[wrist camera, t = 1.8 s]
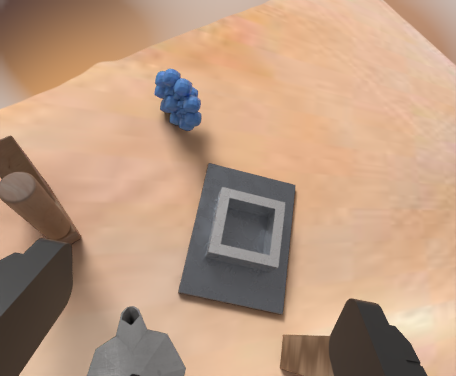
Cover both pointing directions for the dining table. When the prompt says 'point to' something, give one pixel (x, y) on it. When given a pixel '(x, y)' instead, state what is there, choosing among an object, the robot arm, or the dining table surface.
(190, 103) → the grapes
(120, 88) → the dining table surface
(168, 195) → the dining table surface
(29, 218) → the brown wooden pegged bracket
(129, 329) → the coffeepot
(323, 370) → the walnut post
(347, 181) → the dining table surface
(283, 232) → the keeper cradle
